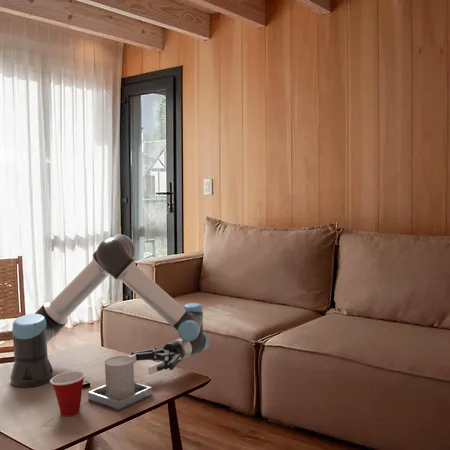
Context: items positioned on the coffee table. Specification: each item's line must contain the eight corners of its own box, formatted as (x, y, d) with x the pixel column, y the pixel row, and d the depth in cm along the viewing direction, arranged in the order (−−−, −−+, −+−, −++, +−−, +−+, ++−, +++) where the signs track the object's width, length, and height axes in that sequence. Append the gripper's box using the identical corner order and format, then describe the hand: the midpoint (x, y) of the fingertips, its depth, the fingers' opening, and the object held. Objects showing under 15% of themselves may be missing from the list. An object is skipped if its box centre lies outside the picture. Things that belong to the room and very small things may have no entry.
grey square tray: (88, 400, 191) (87, 391, 191) (121, 386, 203) (121, 378, 202) (118, 411, 182) (118, 402, 181) (152, 395, 194) (151, 387, 193)
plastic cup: (56, 405, 187) (55, 370, 186) (90, 404, 187) (88, 369, 186) (47, 420, 176) (45, 383, 175) (82, 419, 177) (80, 381, 175)
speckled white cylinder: (128, 402, 187) (127, 366, 185) (101, 401, 189) (99, 365, 187) (139, 391, 196) (137, 356, 195) (112, 390, 198) (111, 355, 197)
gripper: (202, 366, 206) (161, 385, 189) (153, 354, 221) (111, 370, 205) (202, 346, 205) (160, 363, 189) (152, 335, 221) (110, 350, 204)
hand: (135, 367), depth 197 cm, fingers open, 13 cm apart
